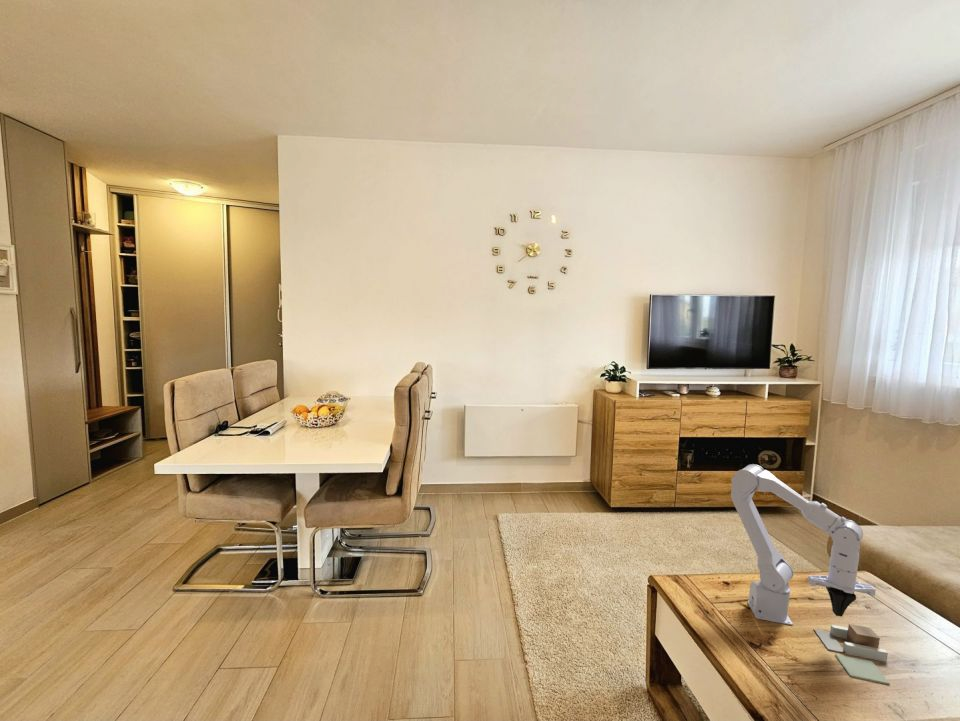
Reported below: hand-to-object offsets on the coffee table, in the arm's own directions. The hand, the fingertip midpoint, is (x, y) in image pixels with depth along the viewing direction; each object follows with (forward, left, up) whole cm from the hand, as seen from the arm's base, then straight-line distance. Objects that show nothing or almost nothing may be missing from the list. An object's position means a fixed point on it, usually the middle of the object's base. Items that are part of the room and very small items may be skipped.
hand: (837, 613), depth 117 cm
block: (+6, 0, -8) cm, 11 cm away
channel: (+3, 0, -8) cm, 9 cm away
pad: (+2, -9, -8) cm, 12 cm away
